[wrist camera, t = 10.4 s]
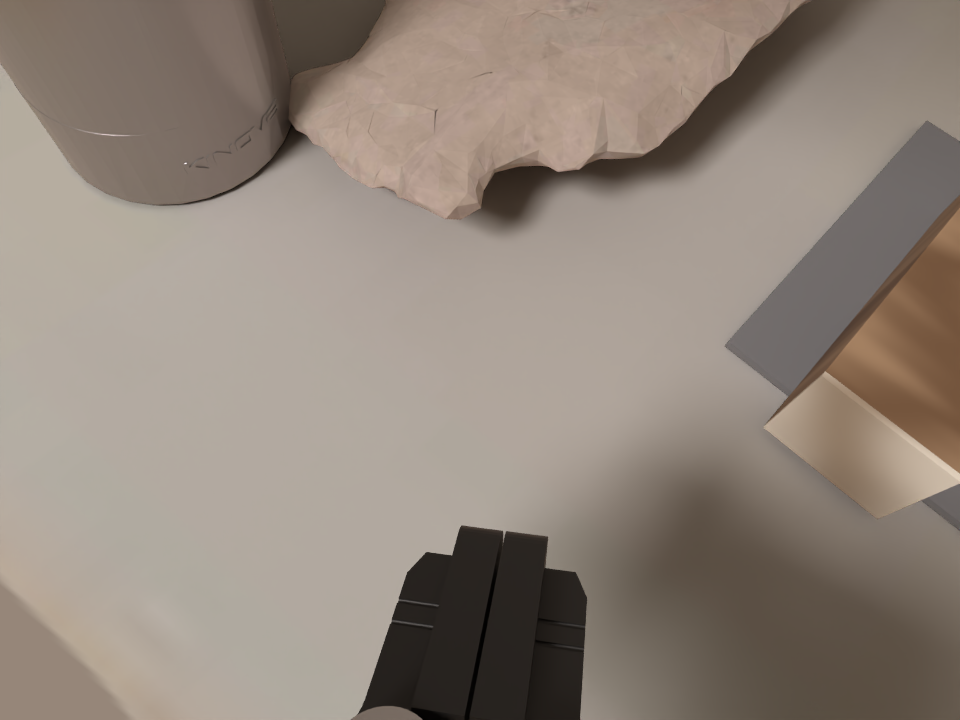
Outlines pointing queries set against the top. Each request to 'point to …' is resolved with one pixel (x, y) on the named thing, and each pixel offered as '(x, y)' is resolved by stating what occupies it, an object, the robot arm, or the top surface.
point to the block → (889, 385)
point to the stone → (519, 87)
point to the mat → (854, 270)
